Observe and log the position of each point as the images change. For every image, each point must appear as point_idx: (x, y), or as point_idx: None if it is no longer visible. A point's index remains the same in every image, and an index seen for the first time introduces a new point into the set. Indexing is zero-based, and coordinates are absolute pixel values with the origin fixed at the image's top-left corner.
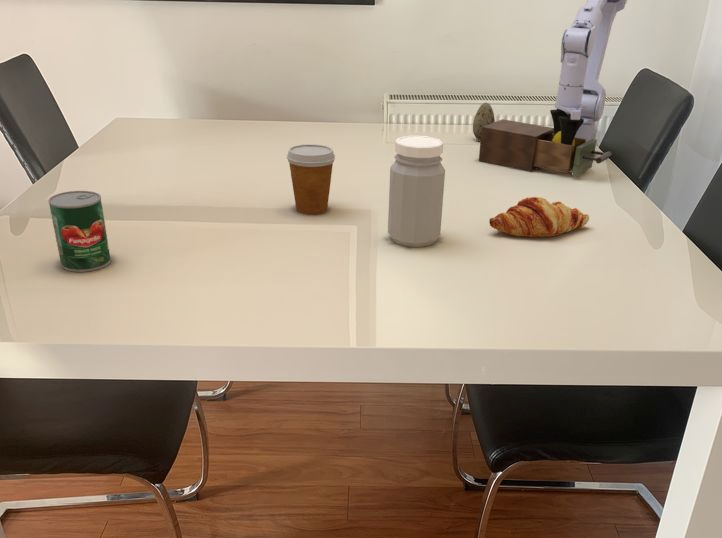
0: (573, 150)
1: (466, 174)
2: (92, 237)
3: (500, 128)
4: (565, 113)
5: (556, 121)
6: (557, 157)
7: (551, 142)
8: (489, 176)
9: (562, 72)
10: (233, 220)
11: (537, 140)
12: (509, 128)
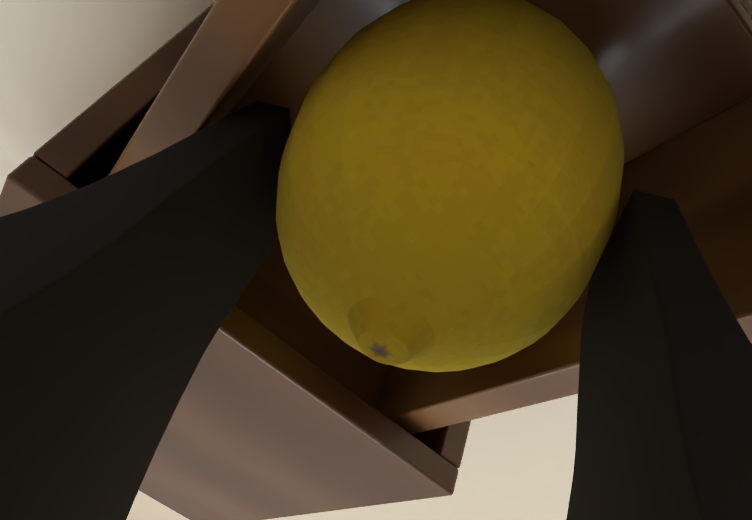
0: (565, 34)
1: (498, 475)
2: None
3: (215, 499)
4: (14, 481)
5: (156, 406)
6: None
7: (548, 398)
8: (551, 439)
9: None
10: None
11: (431, 427)
12: (199, 472)
